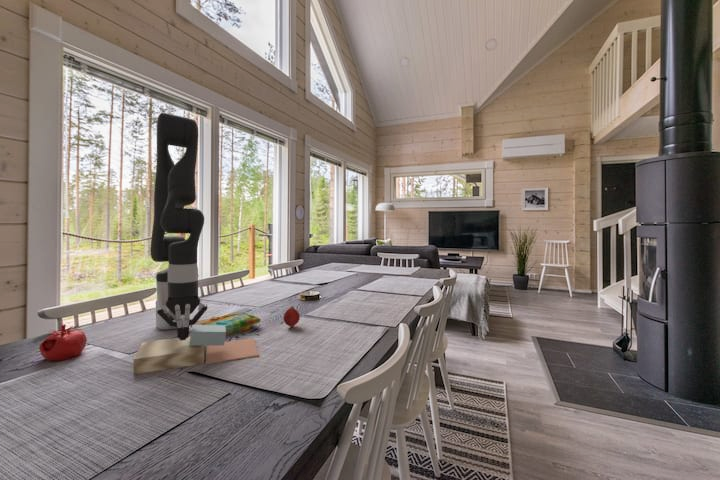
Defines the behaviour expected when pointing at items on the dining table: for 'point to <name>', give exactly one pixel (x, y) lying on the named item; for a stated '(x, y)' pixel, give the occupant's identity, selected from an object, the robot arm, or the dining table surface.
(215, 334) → the pale teal block
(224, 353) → the tan flat square slab
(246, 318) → the puzzle game
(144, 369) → the birch deck
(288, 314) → the onion
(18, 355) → the dining table surface
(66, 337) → the red tomato
